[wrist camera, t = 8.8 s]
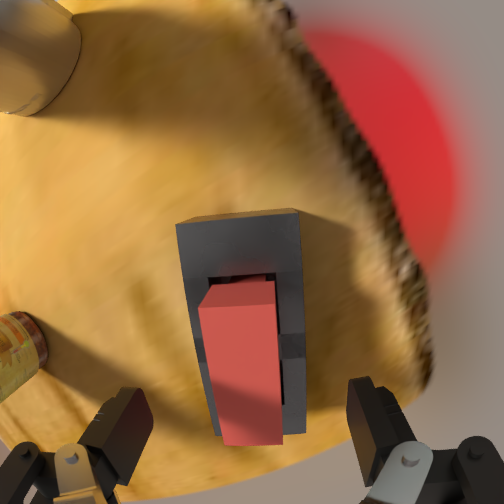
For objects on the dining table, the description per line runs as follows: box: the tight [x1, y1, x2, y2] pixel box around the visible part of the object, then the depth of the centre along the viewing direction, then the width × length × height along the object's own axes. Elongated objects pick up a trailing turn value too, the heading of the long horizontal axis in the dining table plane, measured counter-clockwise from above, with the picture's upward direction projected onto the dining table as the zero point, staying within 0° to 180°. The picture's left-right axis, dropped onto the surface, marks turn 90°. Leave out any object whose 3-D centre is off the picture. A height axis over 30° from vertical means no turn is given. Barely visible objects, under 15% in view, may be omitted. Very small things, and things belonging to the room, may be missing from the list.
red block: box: [198, 273, 283, 446], centre depth 16 cm, size 8×3×7 cm, turn 5°
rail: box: [175, 208, 306, 436], centre depth 18 cm, size 14×6×4 cm, turn 5°
